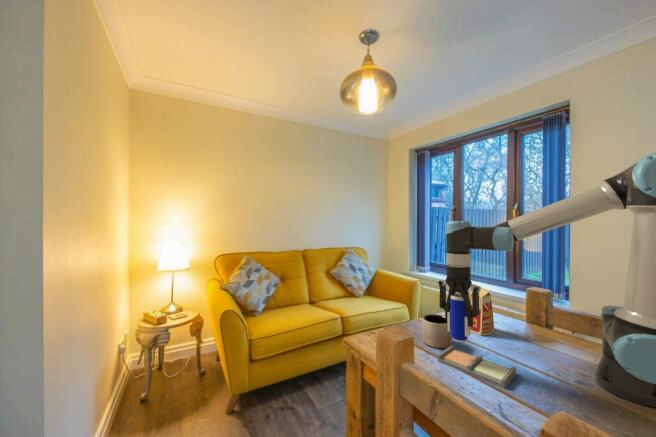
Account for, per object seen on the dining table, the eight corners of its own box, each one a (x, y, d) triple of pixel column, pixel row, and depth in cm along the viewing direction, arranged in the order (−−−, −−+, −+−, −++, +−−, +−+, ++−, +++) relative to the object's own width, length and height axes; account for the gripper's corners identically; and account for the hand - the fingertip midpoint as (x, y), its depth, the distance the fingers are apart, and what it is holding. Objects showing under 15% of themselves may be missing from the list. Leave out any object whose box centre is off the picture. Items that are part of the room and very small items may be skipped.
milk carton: (464, 328, 119) (463, 284, 119) (477, 325, 123) (477, 281, 123) (483, 336, 111) (482, 288, 111) (497, 332, 114) (496, 286, 115)
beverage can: (469, 343, 89) (469, 298, 89) (452, 341, 90) (452, 297, 90) (464, 336, 94) (464, 293, 94) (449, 335, 95) (448, 293, 95)
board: (516, 373, 84) (515, 366, 84) (504, 388, 77) (504, 380, 77) (452, 350, 99) (452, 344, 99) (437, 361, 92) (437, 354, 92)
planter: (446, 337, 111) (446, 314, 111) (456, 350, 100) (456, 324, 100) (419, 336, 112) (419, 313, 112) (426, 349, 101) (426, 323, 101)
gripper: (491, 267, 87) (492, 338, 87) (438, 261, 101) (438, 322, 101) (482, 270, 83) (483, 345, 83) (428, 263, 96) (428, 327, 96)
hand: (458, 332), depth 92 cm, fingers closed on beverage can, 5 cm apart
